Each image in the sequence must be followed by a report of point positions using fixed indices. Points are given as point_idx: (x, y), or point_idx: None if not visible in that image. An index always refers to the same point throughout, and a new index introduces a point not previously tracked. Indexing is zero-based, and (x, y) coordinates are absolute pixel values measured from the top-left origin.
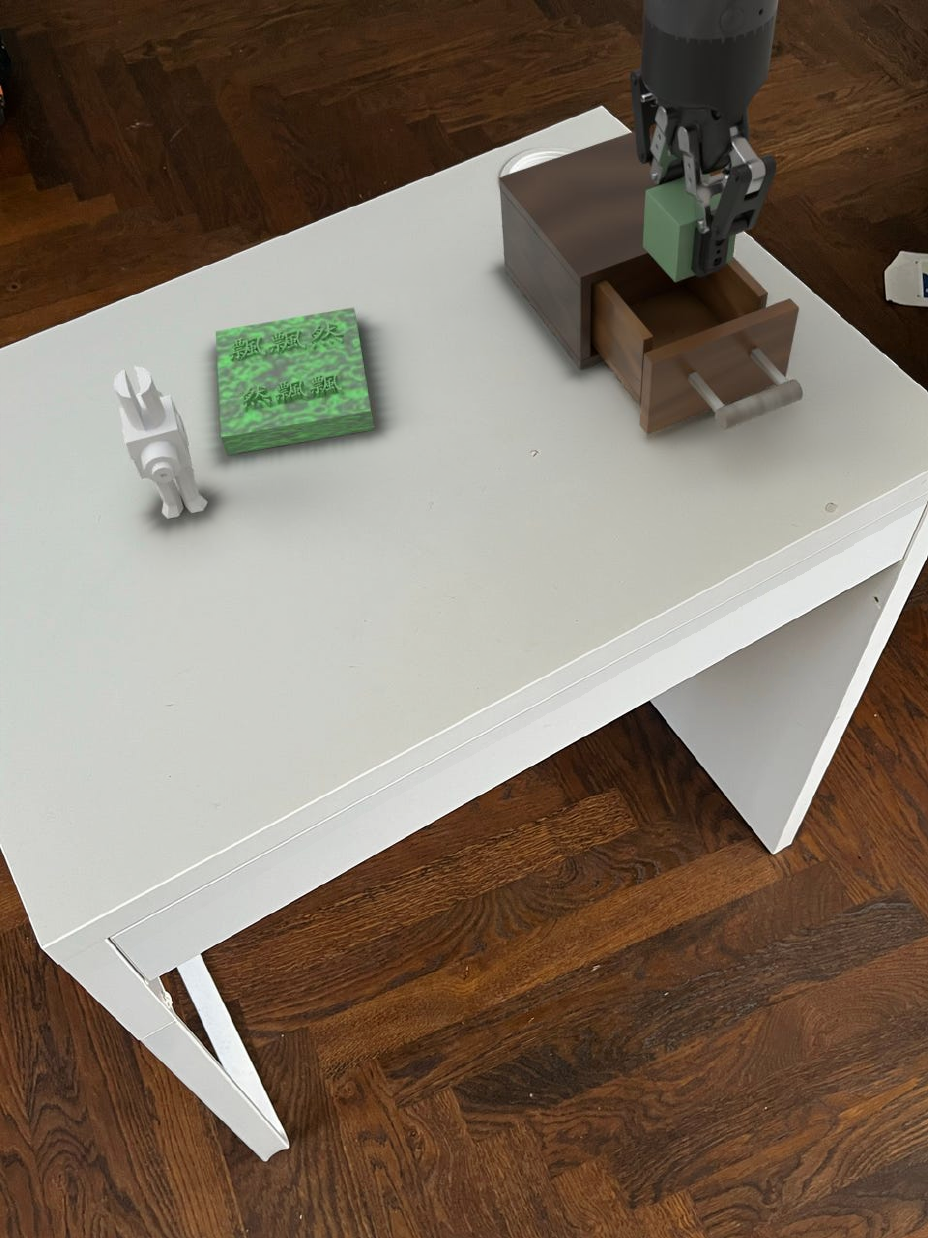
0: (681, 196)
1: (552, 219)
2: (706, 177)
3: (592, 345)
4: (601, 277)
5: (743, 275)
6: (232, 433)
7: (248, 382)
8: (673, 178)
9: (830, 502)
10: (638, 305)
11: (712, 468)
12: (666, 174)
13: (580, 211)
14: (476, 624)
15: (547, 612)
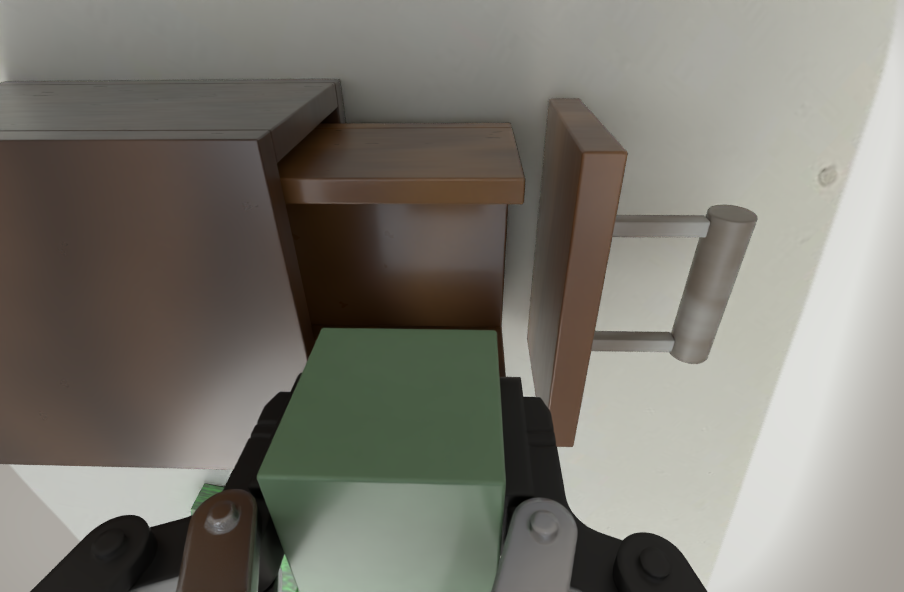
0: (374, 565)
1: (148, 446)
2: (306, 489)
3: None
4: None
5: (438, 196)
6: None
7: (283, 588)
8: (275, 547)
9: (820, 170)
10: (300, 249)
11: (639, 278)
12: (269, 582)
13: (131, 404)
14: (647, 525)
15: (681, 485)
